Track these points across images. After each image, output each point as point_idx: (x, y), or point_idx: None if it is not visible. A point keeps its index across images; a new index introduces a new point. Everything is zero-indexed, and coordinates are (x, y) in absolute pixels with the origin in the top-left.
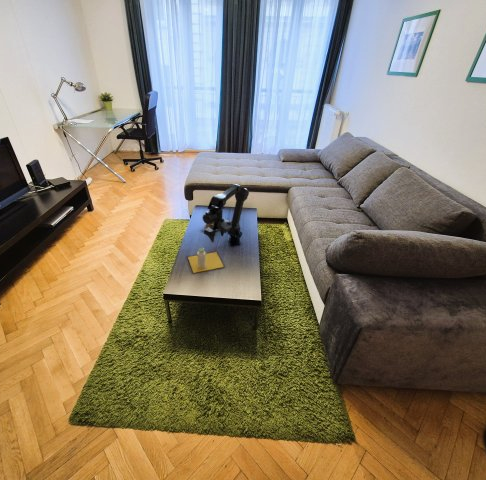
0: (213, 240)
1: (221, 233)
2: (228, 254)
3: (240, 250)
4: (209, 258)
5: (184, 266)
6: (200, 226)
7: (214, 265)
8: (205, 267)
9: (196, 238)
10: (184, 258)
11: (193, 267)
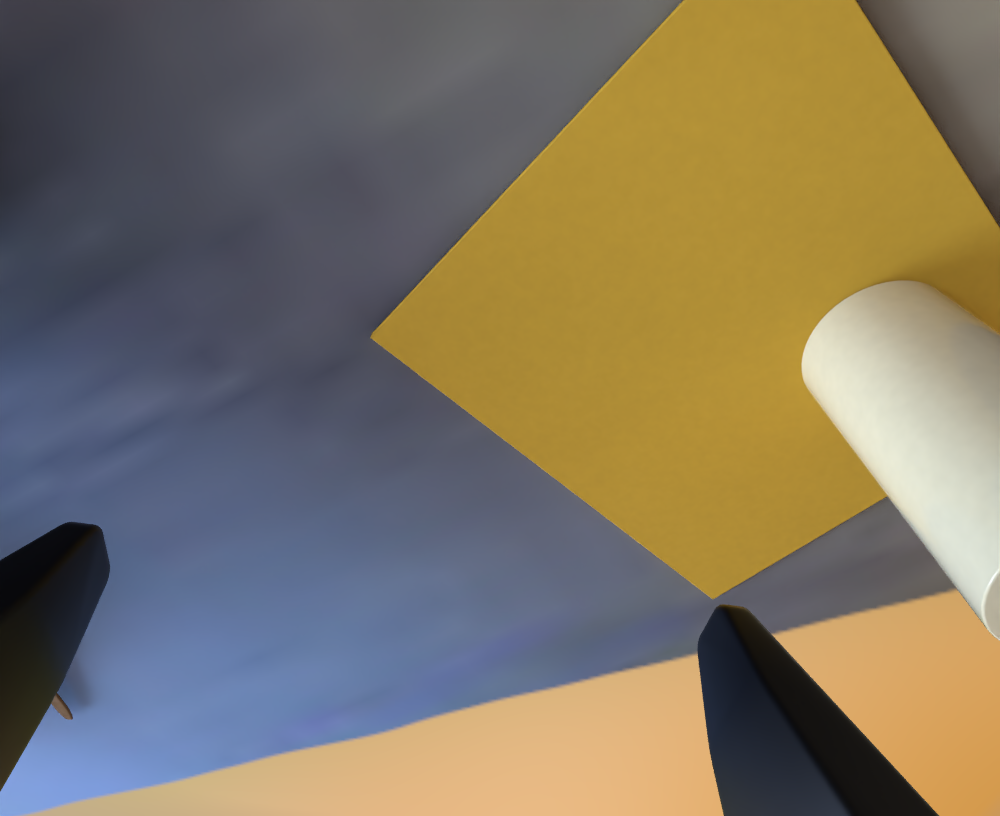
0: (795, 700)
1: (29, 683)
2: (267, 58)
3: None
4: (617, 343)
5: None
6: None
7: (800, 147)
8: (908, 275)
9: (268, 688)
10: None
11: None
